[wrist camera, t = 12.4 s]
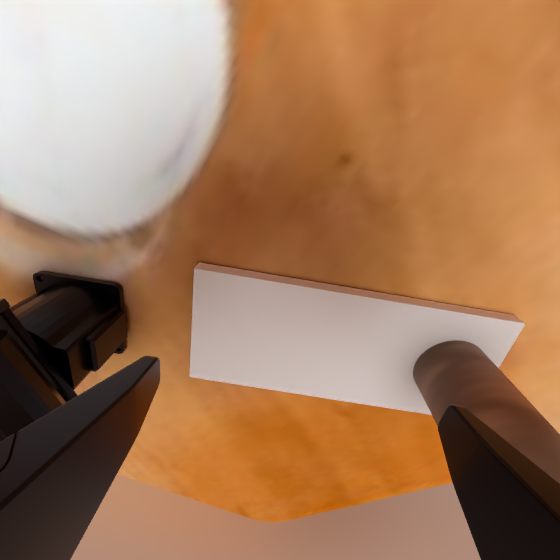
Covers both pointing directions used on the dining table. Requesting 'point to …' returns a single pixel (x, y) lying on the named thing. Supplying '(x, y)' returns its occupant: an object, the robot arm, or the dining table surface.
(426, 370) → the pepper mill
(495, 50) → the dining table surface
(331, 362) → the grey board
